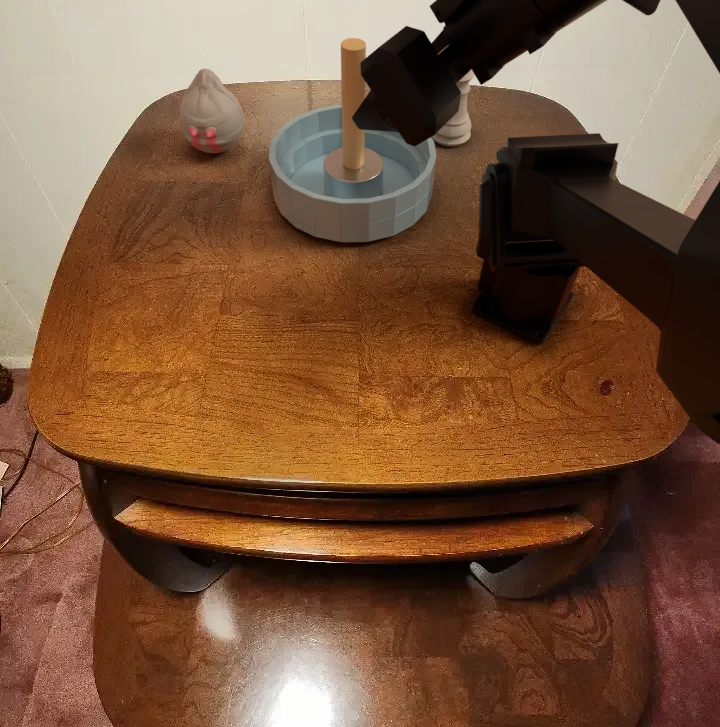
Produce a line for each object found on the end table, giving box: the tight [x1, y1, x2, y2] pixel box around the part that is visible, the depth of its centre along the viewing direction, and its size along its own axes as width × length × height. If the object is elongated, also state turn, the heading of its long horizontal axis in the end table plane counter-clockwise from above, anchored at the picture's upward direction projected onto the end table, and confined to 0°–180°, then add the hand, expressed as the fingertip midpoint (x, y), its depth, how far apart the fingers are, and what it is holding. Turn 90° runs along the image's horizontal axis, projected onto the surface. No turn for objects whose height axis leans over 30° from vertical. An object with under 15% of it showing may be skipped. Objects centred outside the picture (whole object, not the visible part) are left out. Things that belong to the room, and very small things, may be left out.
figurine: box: [179, 68, 246, 154], centre depth 62 cm, size 6×7×8 cm
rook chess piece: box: [431, 70, 475, 148], centre depth 63 cm, size 4×4×8 cm
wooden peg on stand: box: [323, 37, 383, 199], centre depth 54 cm, size 6×6×14 cm
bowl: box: [268, 103, 437, 243], centre depth 59 cm, size 15×15×5 cm
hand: (387, 95), depth 50 cm, fingers open, 9 cm apart
